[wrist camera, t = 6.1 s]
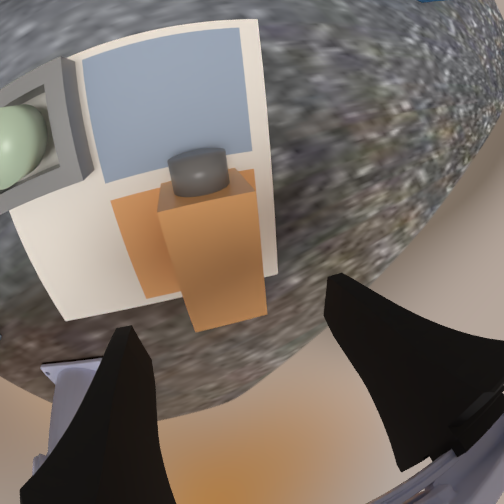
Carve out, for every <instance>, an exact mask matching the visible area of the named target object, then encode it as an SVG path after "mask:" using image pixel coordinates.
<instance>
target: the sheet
mask: <svg viewBox="0 0 504 504" xmlns="http://www.w3.org/2000/svg"><path fill="white" fill-rule="evenodd" d="M67 59H70V60H73V61H75V67H76V76H77V84H78V92H79V98H80V105H81V111H82V116H83V122H84V127H85V132H86V136H87V141H88V146H89V150H90V154H91V158H92V162H93V166H94V171H93V172H92V173H91V174H90V175H89V176H88V177H87V178H86V179H85V180H84V181H81V182H78V183H75V184H73V185H70V186H67V187H64V188H62V189H59V190H56V191H54V192H51V193H49V194H46V195H43V196H41V197H39V198H36V199H34V200H31V201H29V202H27V203H24V204H22V205H20V206H18V207H15V208H13V209H11V210H9V212H10V214H11V217H12V220H13V222H14V225H15V227H16V230H17V232H18V234H19V237H20V239H21V241H22V243H23V246H24V248H25V250H26V252H27V254H28V256H29V258H30V260H31V262H32V264H33V266H34V268H35V270H36V272H37V274H38V276H39V278H40V280H41V281H42V283H43V285H44V287H45V289H46V290H47V292H48V294H49V295H50V297H51V299H52V301H53V302H54V304H55V305H56V307H57V309H58V310H59V312H60V313H61V315H62V316H63V318H64V320H65V321H69V320H74V319H80V318H85V317H90V316H95V315H100V314H105V313H110V312H115V311H120V310H125V309H130V308H134V307H139V306H144V305H148V304H153V303H158V302H162V301H167V300H171V299H176V298H180V297H183V296H182V293H181V290H180V287H179V284H178V281H177V278H176V275H175V272H174V269H173V266H172V262H171V259H170V256H169V253H168V249H167V246H166V243H165V239H164V236H163V232H162V229H161V225H160V222H159V218H158V214H157V209H158V201H159V193H160V186H161V183H165V182H169V181H171V177H170V172H169V167H168V162H167V161H168V159H170V158H171V157H173V156H175V155H178V154H181V153H184V152H188V151H192V150H197V149H204V148H223V149H225V151H226V158H227V166H228V169H231V168H236V170H237V171H238V172H239V173H240V174H241V175H242V176H243V177H244V178H245V180H246V181H247V182H248V183H249V184H250V185H251V186H252V187H253V189H254V190H255V191H256V199H257V209H258V219H259V229H260V240H261V250H262V261H263V272H264V277H268V276H272V275H276V274H278V265H277V246H276V228H275V211H274V196H273V181H272V167H271V154H270V141H269V129H268V117H267V106H266V95H265V84H264V74H263V65H262V55H261V46H260V37H259V28H258V20H257V19H241V20H221V21H209V22H200V23H192V24H185V25H178V26H172V27H167V28H161V29H157V30H152V31H147V32H143V33H139V34H135V35H131V36H128V37H124V38H120V39H117V40H114V41H111V42H107V43H104V44H101V45H98V46H96V47H93V48H90V49H87V50H85V51H82V52H80V53H77V54H75V55H72V56H70V57H67ZM23 104H28V105H32V106H34V107H35V108H37V109H38V110H39V111H40V112H41V114H42V115H43V117H44V119H45V122H46V125H47V131H48V142H47V147H46V151H45V154H44V156H43V159H42V161H41V162H40V164H39V165H38V166H37V168H36V169H35V170H33V171H32V172H31V173H29V174H28V175H26V176H25V177H23V178H22V179H20V180H19V181H21V180H23V179H25V178H27V177H30V176H32V175H34V174H36V173H38V172H41V171H43V170H45V169H48V168H50V167H52V166H55V165H57V164H59V161H58V157H57V153H56V149H55V145H54V140H53V136H52V131H51V126H50V121H49V115H48V109H47V103H46V96H45V92H44V93H42V94H40V95H38V96H36V97H34V98H32V99H30V100H28V101H26V102H25V103H23ZM19 181H17V182H19Z"/></svg>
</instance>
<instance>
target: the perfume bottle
mask: <svg viewBox="0 0 504 504" xmlns="http://www.w3.org/2000/svg"><path fill="white" fill-rule="evenodd" d="M418 1H420V2H422V3H423V2H432V1H443V0H418Z"/></svg>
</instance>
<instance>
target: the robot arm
mask: <svg viewBox="0 0 504 504" xmlns="http://www.w3.org/2000/svg"><path fill="white" fill-rule="evenodd" d="M324 317H325V320H326V322H327V324H328V326H329V328H330V330H331V332H332V334H333V336H334V338H335V339H336V341H337V342H338V344H339V345H340V347H341V348H342V350H343V351H344V353H345V354H346V356H347V357H348V359H349V360H350V362H351V363H352V365H353V366H354V368H355V369H356V371H357V372H358V374H359V376H360V377H361V379H362V380H363V382H364V384H365V385H366V387H367V389H368V391H369V393H370V395H371V397H372V399H373V401H374V403H375V406H376V408H377V410H378V412H379V414H380V417H381V419H382V422H383V424H384V427H385V429H386V432H387V435H388V437H389V440H390V443H391V446H392V449H393V452H394V456H395V459H396V463H397V466H398V467H399V469H400V471H401V472H403V471H405V470H407V469H409V468H411V467H413V466H414V465H416V464H418V463H420V462H422V461H423V460H425V459H426V458H428V457H429V456H430V458H431V460H432V461H433V462H432V463H431V464H429V465H428V466H427V467H425V468H424V469H422V470H421V471H420V472H418V473H417V474H415V475H414V476H412V477H411V478H409V479H408V480H406V481H405V482H403V483H401V484H400V485H398V486H397V487H395V488H393V489H392V490H390V491H388V492H387V493H385V494H383V495H381V496H379V497H378V498H376V499H374V500H372V501H370V502H368V503H366V504H496V502H497V501H498V499H499V498H500V496H501V495H502V493H503V492H504V394H503V393H502V392H503V391H504V341H502V340H495V339H488V338H483V337H479V336H474V335H470V334H467V333H463V332H460V331H457V330H454V329H451V328H448V327H445V326H442V325H440V324H437V323H435V322H432V321H430V320H428V319H425V318H423V317H421V316H419V315H417V314H415V313H412V312H411V311H409V310H407V309H405V308H403V307H401V306H399V305H397V304H395V303H393V302H392V301H390V300H388V299H386V298H385V297H383V296H381V295H379V294H378V293H376V292H374V291H372V290H371V289H369V288H368V287H366V286H364V285H362V284H361V283H359V282H357V281H356V280H354V279H352V278H350V277H349V276H347V275H345V274H343V273H339V274H336V275H332V276H329V277H328V278H327V289H326V298H325V307H324ZM41 370H42V371H43V372H44V373H45V375H46V376H47V377H48V378H49V379H50V380H51V381H52V382H53V383H54V384H55V391H54V397H53V404H52V412H51V420H50V430H49V443H48V453H47V455H46V456H45V455H43V454H39V455H38V456H36V457H34V459H33V472H32V473H33V475H32V477H31V478H30V479H29V480H28V481H27V482H26V483H25V485H24V486H23V487H22V488H21V489H20V504H176V502H175V499H174V496H173V493H172V491H171V488H170V484H169V481H168V478H167V474H166V471H165V467H164V463H163V459H162V454H161V450H160V444H159V437H158V425H157V409H156V389H155V379H154V372H153V366H152V360H151V358H150V356H149V355H148V353H147V351H146V350H145V348H144V346H143V345H142V343H141V341H140V339H139V338H138V336H137V334H136V332H135V331H134V329H133V327H132V325H131V326H126V327H121V328H116V330H115V332H114V334H113V336H112V338H111V340H110V342H109V345H108V347H107V349H106V351H105V353H104V356H103V358H96V359H89V360H81V361H72V362H63V363H53V364H43V365H41ZM424 488H425V491H422V492H420V491H421V490H423V489H424ZM418 492H420V493H418ZM417 493H418V494H417Z"/></svg>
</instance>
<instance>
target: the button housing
mask: <svg viewBox="0 0 504 504" xmlns="http://www.w3.org/2000/svg"><path fill="white" fill-rule="evenodd" d="M44 92H45V96H46V103H47V109H48V115H49V121H50V126H51V131H52V136H53V140H54V145H55V149H56V153H57V157H58V161H59V164H57V165H55V166H52V167H50V168H48V169H45V170H43V171H41V172H38V173H36V174H34V175H32V176H30V177H27V178H25V179H23V180H21V181H19V182H16V183H15V184H13V185H12V186H10V187H9V188H6V189H3V190H0V215H1V214H3V213H5V212H7V211H9V210H11V209H13V208H15V207H18V206H20V205H22V204H24V203H27V202H29V201H31V200H34V199H36V198H39V197H41V196H43V195H46V194H49V193H51V192H54V191H56V190H59V189H62V188H64V187H67V186H70V185H73V184H75V183H78V182H81V181H84V180H85V179H86V178H87V177H88V176H89V175H90V174H91V173H92V172H93V171H94V166H93V162H92V158H91V154H90V150H89V146H88V141H87V136H86V132H85V127H84V122H83V116H82V111H81V105H80V98H79V92H78V84H77V76H76V67H75V61H73V60H70V59H67V58H64V57H61V56H60V57H58V58H56V59H54V60H51V61H49V62H47V63H45V64H43V65H41V66H39V67H38V68H36V69H34V70H32V71H30V72H28V73H27V74H25V75H23V76H21V77H20V78H18V79H16V80H15V81H13V82H11V83H10V84H8V85H7V86H5V87H3V88H2V89H0V108H1V107H7V106H14V105H21V104H23V103H25V102H26V101H28V100H30V99H32V98H34V97H36V96H38V95H40V94H42V93H44Z"/></svg>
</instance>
